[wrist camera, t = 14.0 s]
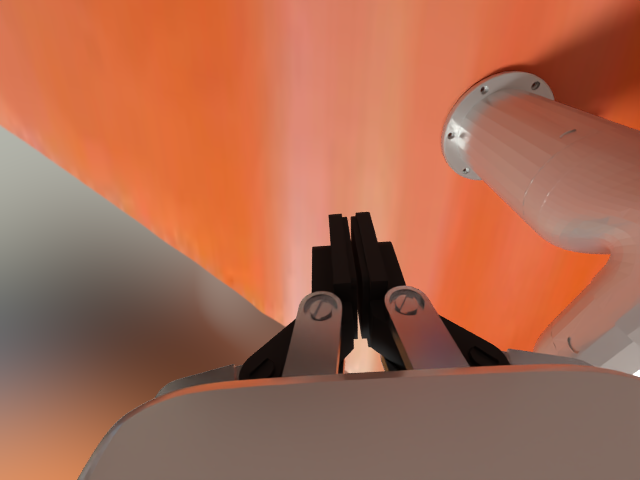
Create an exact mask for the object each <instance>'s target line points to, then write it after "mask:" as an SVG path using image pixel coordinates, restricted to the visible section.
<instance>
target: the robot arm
mask: <svg viewBox="0 0 640 480" xmlns="http://www.w3.org/2000/svg"><path fill="white" fill-rule="evenodd" d="M532 84H533V85H532ZM482 87H483V89H482V90H481V88H482ZM480 90H481V91H480ZM449 133H450V135H448V134H449ZM441 147H442V152H443V156H444V158H445V160H446V162H447V163H448V165H449V166H450V167H451V168H452V169H453V170H454V171H455V172H456V173H457V174H459V175H460V176H462V177H465V178H468V179H472V180H483V181H484V182H485V183H486V184H487V185H488V186H489V187H490V188H491V189H492V190H493V191H494V192H495V193H496V194H497V195H498V196H499V197H500V198H502V199H503V200H504V201H505V202H506V203H507V204H508V205H509V206H510V207H511V208H512V209H513V210H514V211H515V212H516V213H517V214H518V215H519V216H520V217H521V218H522V219H523V220H524V221H525V222H526V223H527V224H528V225H529V226H530V227H531V228H532V229H533V230H534V231H535V232H536V233H537V234H538V235H540V236H541V237H542V238H543V239H545V240H546V241H548V242H549V243H551V244H553V245H555V246H557V247H560V248H562V249H565V250H569V251H574V252H580V253H589V254H611V255H610V258H609V260H608V262H607V263H606V265H605V266H604V267H603V268H602V269H601V270H600V271H599V273H598V274H597V275H596V276H595V277H594V278H593V279H592V281H591V283H590V284H589V285H588V286H587V287H586V288H585V289H584V290H583V291H582V292H581V293H580V294H579V295H578V296H577V297H576V298H575V299H574V300H573V301H572V302H571V303H570V304H569V305H568V306H567V307H566V308H565V309H564V310H563V311H562V312H561V313H560V314H559V315H558V316H557V317H556V318H555V319H554V320H553V321H552V322H551V323H550V324H549V325H548V327H547V328H546V329H545V330H544V331H543V333H542V334H541V335H540V337H539V338H538V340H537V342H536V344H535V346H534V349H533V352H528V351H521V350H514V349H508V350H507V352H504V351H501V350H500V349H498V348H497V347H495V346H494V345H493V344H491V343H489V342H487V341H485V340H484V339H482V338H480V337H478V336H476V335H475V334H473V333H471V332H469V331H467V330H465V329H464V328H462V327H460V326H458V325H456V324H455V323H453V322H451V321H449V320H447V319H446V318H444V317H442V316H440V315H438V314H437V312H436V310H435V309H434V307H433V305H432V304H431V302H430V300H429V299H428V297H427V296H426V295H425V294H424V293H423V292H422V291H420V290H419V289H416V288H414V287H410V286H406V284H405V281H404V278H403V275H402V272H401V269H400V266H399V263H398V260H397V257H396V254H395V251H394V248H393V245H392V243H391V242H378V241H377V238H376V234H375V230H374V227H373V223H372V220H371V216H370V213H369V212H360V213H356V216H353V217H351V239H350V233H349V226H348V220H347V217H342V214H332V215H329V227H330V242H331V246H318V247H312V293H310V294H309V295H307V296H305V298H304V299H303V300H302V301H301V303H300V305H299V309H298V313H297V317H296V319H295V320H294V321H293V322H291V323H290V324H289V325H288V326H287V327H285V328H284V329H283V330H282V331H281V332H279V333H278V334H277V335H276V336H275V337H273V338H272V339H271V340H270V341H269V342H267V343H266V344H265V345H264V346H263V347H261V348H260V349H259V350H258V351H257V352H255V353H254V354H253V355H252V356H251V357H250V358H248V359H247V361H246V362H245V363H244V364H243V365H240V366H237V367H235V366H234V364H232V365H229V366H225V367H221V368H218V369H214V370H210V371H207V372H203V373H200V374H196V375H192V376H189V377H185V378H181V379H178V380H175V381H173V382H171V383H169V384H167V385H166V386H165V387H163V388H162V389H161V390H160V391H159V393H158V394H157V395H156V397H155V398H154V399H153V400H150V401H148V402H146V403H144V404H142V405H140V406H139V407H137V408H135V409H133V410H132V411H130V412H129V413H127V414H126V415H125V416H123V417H122V418H121V419H120V420H118V421H117V422H116V423H115V424H114V425H113V427H112V428H111V429H110V430H109V431H108V432H107V434H106V435H105V436H104V437H103V439H102V440H101V442H100V443H99V445H98V446H97V448H96V449H95V451H94V452H93V454H92V455H91V457H90V459H89V460H88V462H87V464H86V465H85V467H84V468H83V470H82V472H81V474H80V476H79V477H78V479H77V480H640V131H639V130H636V129H632V128H629V127H627V126H624V125H621V124H618V123H615V122H613V121H610V120H607V119H604V118H601V117H599V116H596V115H593V114H590V113H587V112H585V111H582V110H579V109H576V108H573V107H571V106H568V105H565V104H562V103H559V102H557V101H555V100H554V95H553V93H552V91H551V89H550V87H549V85H548V84H547V83H546V82H545V81H544V80H543V79H541V78H540V77H538V76H536V75H534V74H531V73H527V72H522V71H506V72H501V73H498V74H494V75H492V76H490V77H487V78H485V79H483V80H481V81H480V82H478V83H477V84H475V85H474V86H473V87H471V88H470V89H469V90H468V91H467V92H466V93H465V94H463V95H462V96H461V98H460V99H459V100H458V101H457V103H456V104H455V105H454V106H453V108H452V110H451V111H450V113H449V115H448V117H447V119H446V122H445V124H444V127H443V132H442V136H441ZM358 316H359V323H360V330H361V336H362V339H363V338H367V341H368V347H371V348H373V349H374V350H375V351H377V352H378V353H380V357H381V362H382V365H383V367H384V370H385V371H384V372H366V373H347V374H344V368H345V357H346V356H347V355H348V354H349V353H350V352H351V351H352V350H353V349H354V339H358Z"/></svg>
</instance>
